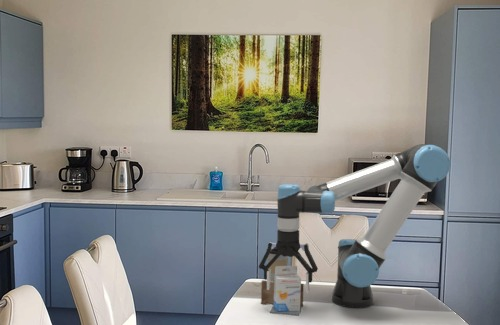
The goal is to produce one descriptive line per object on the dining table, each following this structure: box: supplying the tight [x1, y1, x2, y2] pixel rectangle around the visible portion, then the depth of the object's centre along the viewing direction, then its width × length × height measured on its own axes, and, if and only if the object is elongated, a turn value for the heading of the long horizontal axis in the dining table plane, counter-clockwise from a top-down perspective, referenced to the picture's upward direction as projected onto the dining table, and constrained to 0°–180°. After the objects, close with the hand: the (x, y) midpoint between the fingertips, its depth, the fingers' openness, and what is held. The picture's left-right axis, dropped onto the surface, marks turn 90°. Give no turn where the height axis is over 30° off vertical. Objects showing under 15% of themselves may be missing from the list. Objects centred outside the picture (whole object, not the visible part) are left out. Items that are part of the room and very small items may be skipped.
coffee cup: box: [267, 247, 289, 281], centre depth 221 cm, size 9×9×15 cm
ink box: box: [272, 265, 302, 312], centre depth 188 cm, size 8×5×15 cm, turn 102°
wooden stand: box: [260, 279, 305, 308], centre depth 195 cm, size 15×4×8 cm, turn 77°
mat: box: [269, 306, 303, 317], centre depth 188 cm, size 10×8×1 cm
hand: (287, 290), depth 188 cm, fingers open, 13 cm apart
